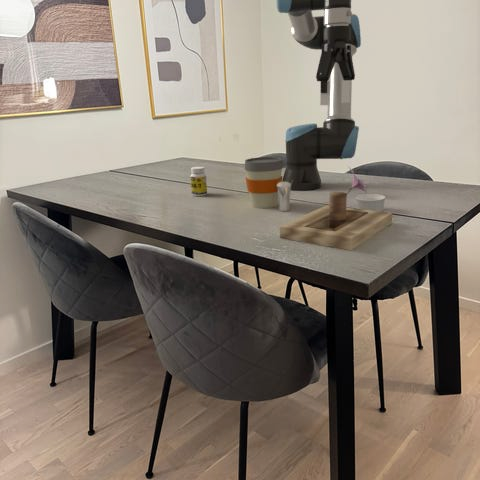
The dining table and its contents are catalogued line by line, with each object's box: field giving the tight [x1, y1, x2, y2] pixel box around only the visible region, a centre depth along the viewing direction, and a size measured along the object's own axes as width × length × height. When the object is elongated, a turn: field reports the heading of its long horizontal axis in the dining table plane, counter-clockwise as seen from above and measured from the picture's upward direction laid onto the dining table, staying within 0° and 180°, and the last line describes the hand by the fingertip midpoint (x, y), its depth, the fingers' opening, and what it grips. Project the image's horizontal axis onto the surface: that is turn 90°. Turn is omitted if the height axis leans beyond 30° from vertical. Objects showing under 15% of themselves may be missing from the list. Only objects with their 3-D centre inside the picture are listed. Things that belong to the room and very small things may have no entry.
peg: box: [328, 191, 348, 229], centre depth 127 cm, size 4×4×10 cm
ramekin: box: [355, 193, 386, 212], centre depth 146 cm, size 9×9×4 cm
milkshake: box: [277, 180, 293, 212], centre depth 150 cm, size 4×5×10 cm
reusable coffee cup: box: [244, 156, 284, 209], centre depth 157 cm, size 13×13×15 cm
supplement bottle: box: [190, 166, 208, 197], centre depth 178 cm, size 6×6×10 cm
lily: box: [346, 165, 368, 195], centre depth 165 cm, size 12×12×10 cm
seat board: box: [279, 204, 393, 251], centre depth 128 cm, size 20×26×3 cm
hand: (335, 104), depth 142 cm, fingers open, 13 cm apart
